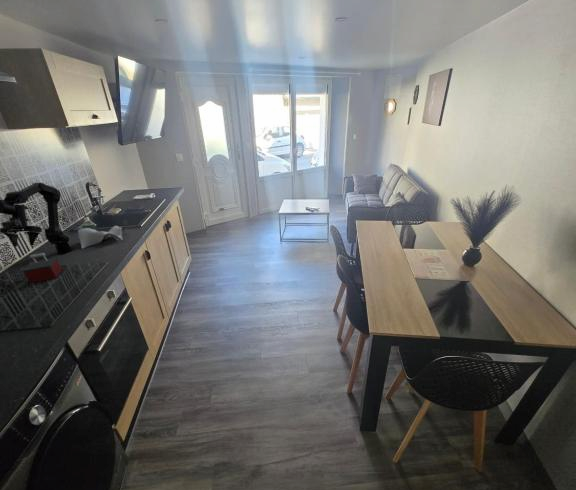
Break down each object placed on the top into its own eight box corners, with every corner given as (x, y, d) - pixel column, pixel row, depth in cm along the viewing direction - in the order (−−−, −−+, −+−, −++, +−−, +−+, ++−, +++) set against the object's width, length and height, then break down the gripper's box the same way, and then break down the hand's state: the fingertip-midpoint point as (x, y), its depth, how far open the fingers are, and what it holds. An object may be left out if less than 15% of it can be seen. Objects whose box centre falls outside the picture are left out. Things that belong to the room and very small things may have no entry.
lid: (31, 263, 160) (25, 254, 157) (57, 258, 163) (51, 249, 160) (23, 272, 152) (17, 262, 149) (50, 267, 154) (44, 257, 151)
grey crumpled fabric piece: (126, 232, 210) (121, 219, 205) (123, 242, 195) (117, 227, 190) (87, 239, 204) (81, 225, 199) (81, 249, 189) (74, 235, 184)
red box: (37, 274, 164) (31, 263, 160) (62, 269, 166) (56, 259, 163) (30, 282, 155) (23, 272, 152) (56, 277, 158) (50, 267, 154)
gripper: (-14, 215, 151) (-9, 246, 153) (21, 212, 150) (26, 243, 152) (8, 218, 162) (12, 247, 164) (40, 216, 161) (45, 245, 163)
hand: (23, 246), depth 160 cm, fingers open, 9 cm apart
